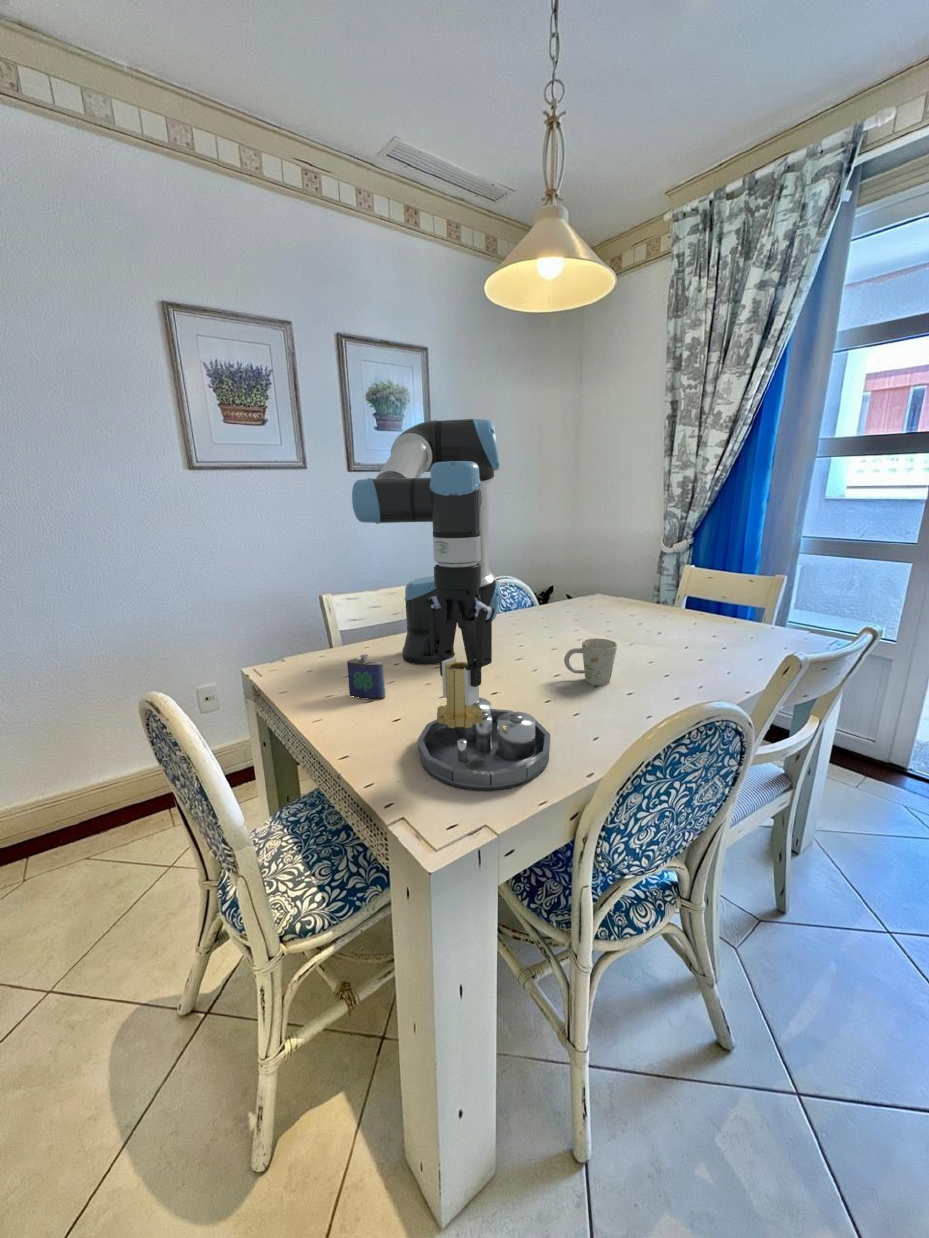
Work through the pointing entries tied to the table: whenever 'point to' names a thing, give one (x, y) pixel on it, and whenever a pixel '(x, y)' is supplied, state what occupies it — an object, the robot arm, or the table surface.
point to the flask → (366, 678)
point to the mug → (595, 660)
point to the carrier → (486, 750)
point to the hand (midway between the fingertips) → (460, 698)
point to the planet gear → (457, 700)
